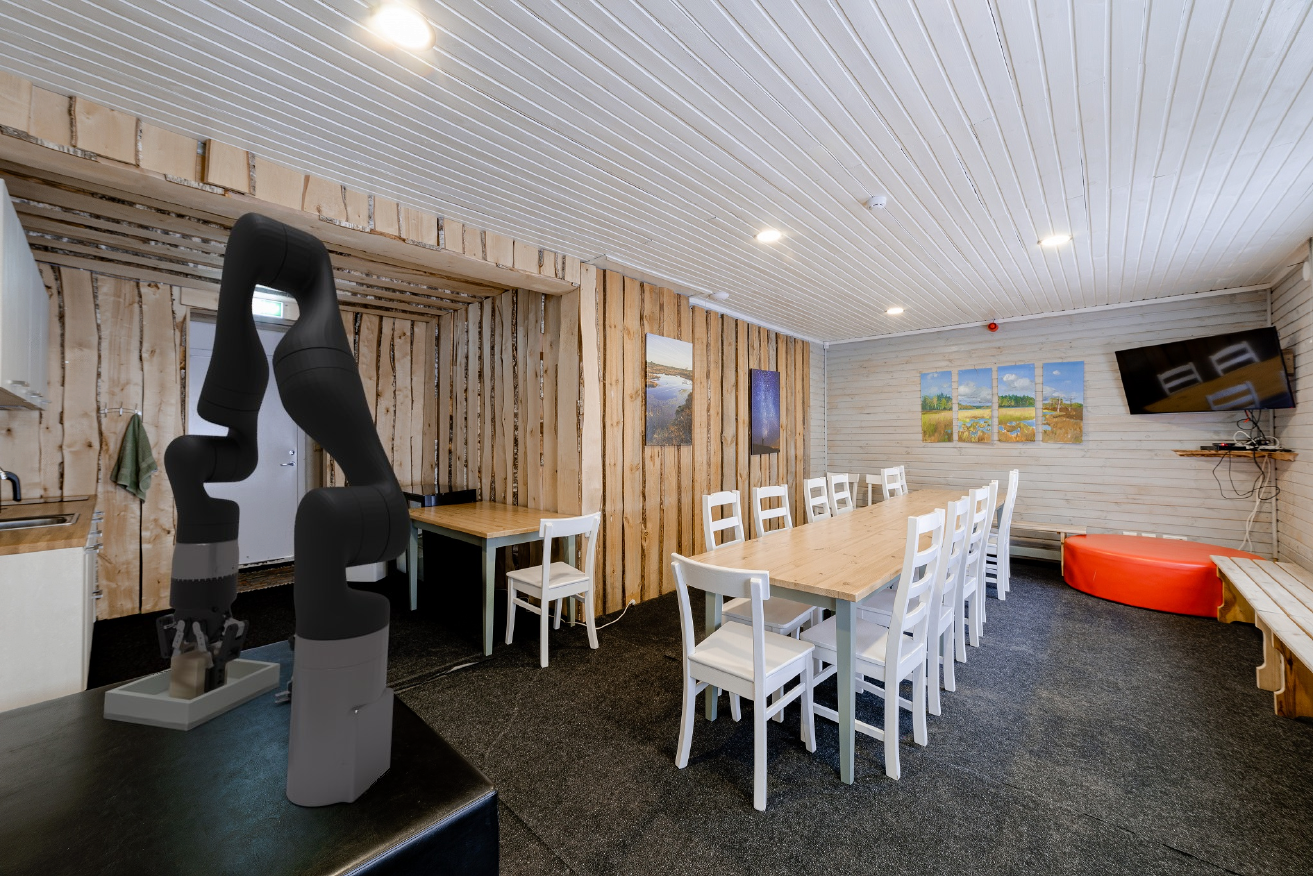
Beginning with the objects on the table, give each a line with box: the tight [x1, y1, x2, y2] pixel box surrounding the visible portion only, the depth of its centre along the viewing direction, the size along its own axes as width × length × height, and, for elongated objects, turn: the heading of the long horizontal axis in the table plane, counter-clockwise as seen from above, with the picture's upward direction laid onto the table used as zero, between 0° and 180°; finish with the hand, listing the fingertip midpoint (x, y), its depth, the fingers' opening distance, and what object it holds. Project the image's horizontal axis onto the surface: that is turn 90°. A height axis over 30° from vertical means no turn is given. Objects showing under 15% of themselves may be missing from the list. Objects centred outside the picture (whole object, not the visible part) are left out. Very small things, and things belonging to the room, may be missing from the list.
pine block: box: [169, 647, 228, 700], centre depth 77 cm, size 4×4×6 cm
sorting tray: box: [103, 658, 281, 732], centre depth 76 cm, size 14×14×4 cm
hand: (198, 688), depth 76 cm, fingers closed on pine block, 4 cm apart
